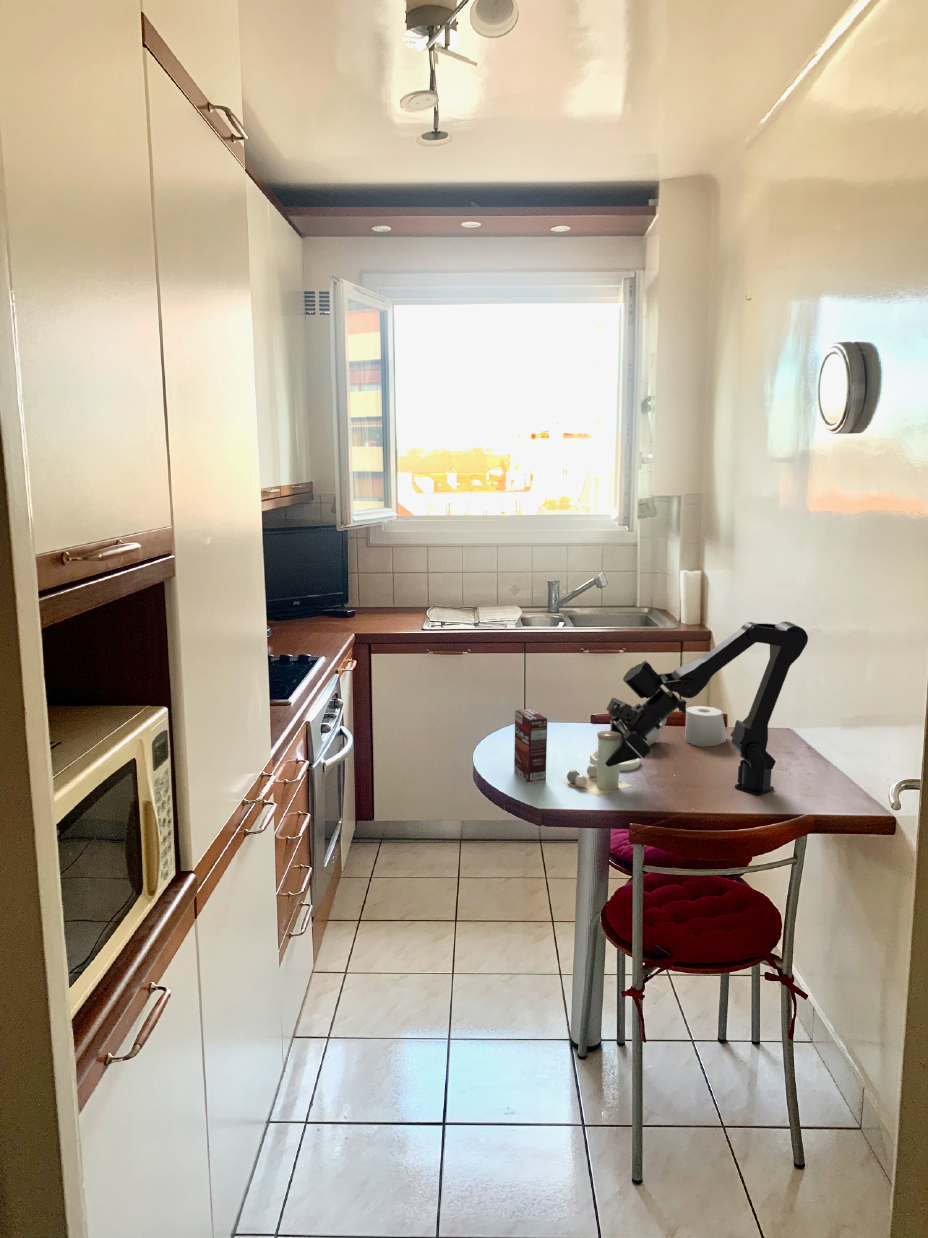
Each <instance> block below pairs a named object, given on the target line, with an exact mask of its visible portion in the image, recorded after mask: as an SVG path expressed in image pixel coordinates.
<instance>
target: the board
mask: <svg viewBox="0 0 928 1238" xmlns="http://www.w3.org/2000/svg"><path fill="white" fill-rule="evenodd" d="M584 776H585V777H586V778H587V785H586V786H585V787H582V788H581V787H578V786H577V785H576V783H571V782H569V781H568V780H567V781H565V782H563V783H564V784H566V785H569V786H572V787H574V788H576V789H579V790H582V791H584V792H586V793H588V794H590V795H591V794H592V795H594V796H596V797H598V798H600V797H603V796H606V795H608V794H611V793H614V792H615V793H616V792H618V791H621V790H624V789H629V788H630V787H632V785H631V784H628V783H626V782H623V781H620V780H619V786H618V789H617V790H613V791H605V790H601V789H598V788H597V787H596V784H597V777H590V776H589V775H588V774H587V775H584Z"/></svg>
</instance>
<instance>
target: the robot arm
mask: <svg viewBox="0 0 928 1238" xmlns="http://www.w3.org/2000/svg"><path fill="white" fill-rule="evenodd" d="M808 640H809V636H808V633H807V632H806V630H805V629H804V628H803V627H801V626H800V625H797V624H794V623H793V622H790V621H781V622H779V623H777V624H775V623H765V622H764V623H759V622H758V623H756V622H752V621H750V622H749V621H748V622H745V623H744V624H743V625H742V626H741V627H740V628H739V629H737V630H736V631H734V633H732V634H731V635H729V636H728V637H727V638H726V639H724V640H723V641H722V642H720V643H719V644H718V645H716V646H715V647H714V648H713V649H711V650H710V651H708V652H707V653H706V654H705V655H703V656H702V657H701V658H698V659H696V660H694V661H691V662H687V663H686V664H684V665H682V666H680V667H677V668H676V669H675V670H673V671H672V672H667V673H657V672H656V671H655V670H654V668H653V667H652V666H651V664H650V663H649V662H648V661H647V660H644V661H642V662H641V663H639V664H636V665H635V666H634V667H633V666H632V667H631V668H630V669H628V671H627V672H626V673H625V675H623V679H622V681H623V682H624V683H625V684H626V685H627V686H628V687H629V688H630V689H631V690H632V691H633V692H634V694H636V695H637V696H638V698H640V699H644V698H645V699H647V700H645V702H644V703H643V704H641V703H637V704H635V706H632V705H631V704H630V703H629V704H628V703H627V702H625V701H622V700H620V699H618V698H616V697H612V698H611V700H610V701H609V704H608V705H607V707H606V709H605V710H606V711H607V712H608V714H609V715H610V718H611V719H609V722H610V723H609V724H610V725H609V726H610V730H609V731H614V732H618V733H620V734H621V737H620V745H619V747H618V748H617V749H616V750H615V751H614V753H613V754H612V755H611V756H610V757H609V759H608V760H607V761H606V763H605V764H606V765H607V766H608V767H610V766H613V765H616V764H619V763H623V762H626V761H630V760H633V759H637V758H639V759H640V758H641V759H642V758H643V759H646V758H647V757H648V756H649V755H650V754H651V752H652V751H651V745H649V744H648V743H647V742H646V740H647V737H646V736H647V735H648V734H649V733H650V732H651V731H653V730H654V729H655V728H657V729H659V728H660V727H661V726H660V725H659V724H660V723H661V722H662V721H663V720H665V719H666V718H668V717H669V716H670V715H671V714H673V712H674V711H676V710H677V709H678V710H679V711H681V713H682V714H685V715H686V708H687V703H688V702H687V701H686V700H685V698H686V699H693V698H695V697H697V695H699V694H700V693H701V692H702V691H703V689H704V688H705V687H706V686H707V685H708V684H709V682H710V680H711V679H712V678H713V676H714V675H715V674H716V673H718V672H719V671H720V670H721V669H723V668H724V667H725V666H727V665H728V664H729V663H730V662H732V661H733V660H734V659H736V658H738V657H739V656H740V655H741V654H742V653H744V652H745V651H747V650H748V649H750V647H752V646H753V645H755V644H756V643H759V644H764V645H765V644H766V645H769V659H768V662H767V664H766V668H765V670H764V673H763V676H762V678H761V681H760V684H759V686H758V689H757V692H756V694H755V697H754V700H753V701H752V704H751V706H750V710H749V712H748V715H747V716H746V718H744V720H743V721H741V720H739V719H736V721H735V722H734V723H735V725H734V728H733V730H732V732H731V733H730V734H729V735H730V736H731V744H732V747H733V749H735V750H736V752H737V753H739V757H740V758H741V759H742V760H740V762H739V765H738V771H737V784H735V785H734V788H736V789H739V790H741V791H744V792H747V793H751V794H753V795H756V796H761V795H764V794H766V793H768V792H771V791H774V790H775V787H774V786H772V783H771V781H772V771H773V768H774V766H775V764H776V759H774V757H773V756H772V755H771V754H769V752H768V751H767V746H768V743H769V742H768V741H769V723H770V720H771V717H772V715H773V713H774V709H775V706H776V704H777V702H778V699H779V696H780V693H781V691H782V689H783V686H784V682H785V681H786V678H787V676H788V672H789V670H790V668H791V665H793V663H794V662H796V660H798V658H799V657H800V656H801V654H802V653H803V651H804V650H805V648H806V646H807V644H808ZM662 686H664V687H665V688H666V689H667V691H666V690H664V689H663V688H662ZM675 693H677V694H678V695H679V696H680V697H682V698H681V699H680V698H679V697H678V696H677V695H676V694H675ZM683 698H684V699H683Z"/></svg>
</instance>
